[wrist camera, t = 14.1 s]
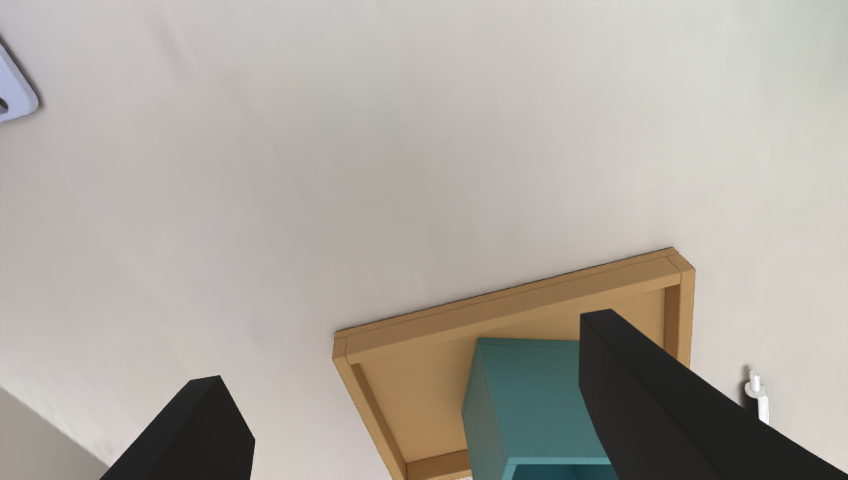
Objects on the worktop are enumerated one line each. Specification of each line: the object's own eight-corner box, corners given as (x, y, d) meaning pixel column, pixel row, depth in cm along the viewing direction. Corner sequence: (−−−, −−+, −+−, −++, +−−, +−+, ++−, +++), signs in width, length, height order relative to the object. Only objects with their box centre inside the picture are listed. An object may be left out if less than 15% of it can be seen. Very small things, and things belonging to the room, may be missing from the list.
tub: (460, 411, 23) (482, 537, 18) (477, 336, 21) (508, 457, 16) (555, 412, 24) (602, 535, 19) (582, 340, 21) (645, 457, 16)
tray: (398, 463, 26) (398, 492, 24) (334, 331, 21) (331, 359, 19) (668, 401, 25) (686, 428, 23) (673, 246, 20) (696, 268, 18)
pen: (757, 363, 24) (772, 379, 23) (765, 535, 33) (776, 552, 32) (739, 368, 24) (754, 385, 23) (752, 539, 33) (763, 556, 32)
